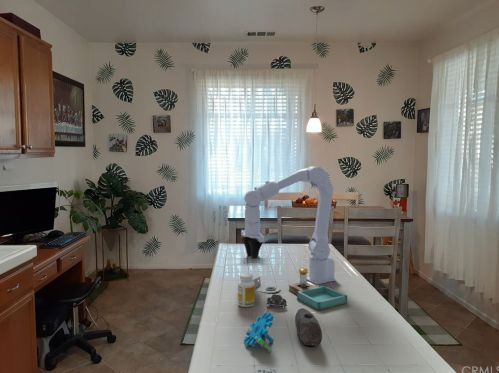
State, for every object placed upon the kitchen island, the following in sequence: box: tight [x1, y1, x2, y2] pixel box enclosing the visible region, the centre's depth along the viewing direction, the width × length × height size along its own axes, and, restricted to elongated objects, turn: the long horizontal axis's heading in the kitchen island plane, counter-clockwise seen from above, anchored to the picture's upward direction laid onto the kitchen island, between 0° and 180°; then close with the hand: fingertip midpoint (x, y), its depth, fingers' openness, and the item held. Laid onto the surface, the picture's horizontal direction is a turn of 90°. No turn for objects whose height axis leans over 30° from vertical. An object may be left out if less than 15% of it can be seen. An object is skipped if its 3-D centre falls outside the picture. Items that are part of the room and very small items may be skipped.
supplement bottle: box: [237, 272, 256, 308], centre depth 121 cm, size 5×5×10 cm
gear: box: [243, 311, 275, 353], centre depth 95 cm, size 11×6×10 cm
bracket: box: [252, 276, 281, 294], centre depth 134 cm, size 7×10×3 cm, turn 57°
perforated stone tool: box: [294, 307, 323, 347], centre depth 99 cm, size 15×5×7 cm, turn 5°
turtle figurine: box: [266, 294, 288, 309], centre depth 118 cm, size 15×7×4 cm, turn 76°
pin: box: [298, 267, 309, 288], centre depth 132 cm, size 3×3×8 cm
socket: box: [288, 282, 317, 295], centre depth 132 cm, size 7×7×2 cm
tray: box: [296, 285, 348, 312], centre depth 124 cm, size 12×11×2 cm
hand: (252, 257), depth 143 cm, fingers open, 3 cm apart
